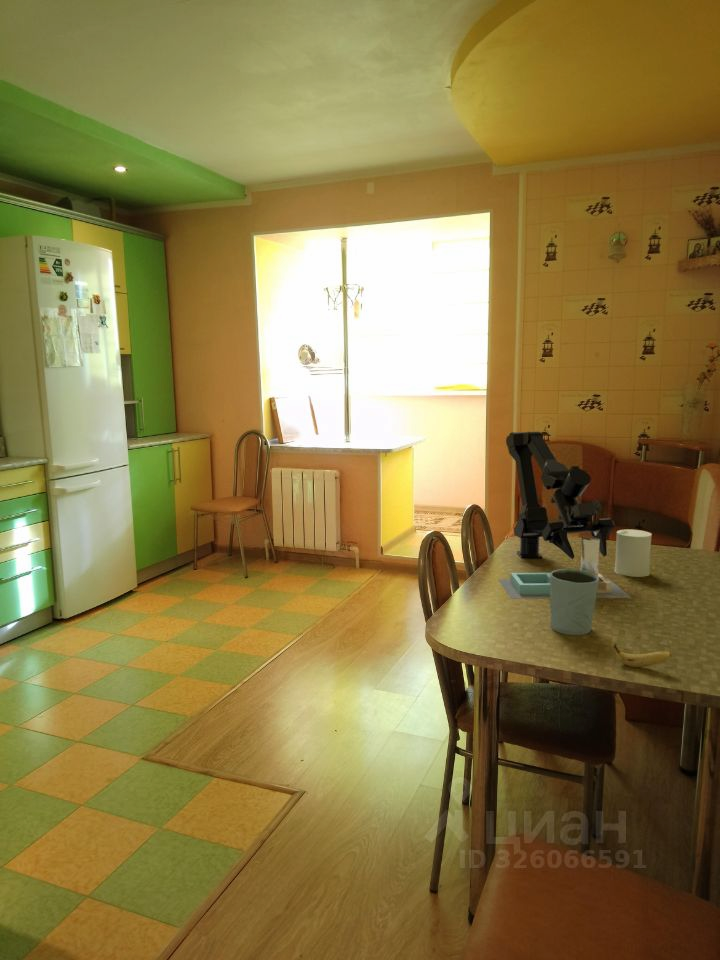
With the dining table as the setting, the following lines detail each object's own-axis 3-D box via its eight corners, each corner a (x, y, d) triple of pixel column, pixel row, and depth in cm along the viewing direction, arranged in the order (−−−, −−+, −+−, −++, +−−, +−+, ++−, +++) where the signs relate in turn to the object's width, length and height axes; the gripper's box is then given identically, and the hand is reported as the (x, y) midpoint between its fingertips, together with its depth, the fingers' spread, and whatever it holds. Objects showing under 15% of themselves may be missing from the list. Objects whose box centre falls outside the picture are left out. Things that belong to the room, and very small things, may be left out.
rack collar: (510, 582, 178) (510, 573, 177) (549, 581, 178) (549, 572, 177) (519, 594, 167) (520, 585, 167) (560, 594, 167) (561, 584, 167)
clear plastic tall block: (577, 584, 175) (579, 537, 173) (593, 584, 175) (596, 536, 173) (582, 590, 170) (585, 541, 168) (599, 590, 170) (602, 540, 168)
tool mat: (497, 580, 180) (497, 579, 180) (607, 579, 180) (607, 578, 180) (511, 599, 164) (511, 598, 164) (631, 598, 165) (631, 597, 164)
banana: (670, 670, 124) (671, 650, 124) (669, 675, 122) (671, 654, 122) (613, 660, 129) (614, 641, 128) (612, 665, 127) (613, 645, 126)
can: (610, 567, 191) (612, 527, 189) (643, 568, 190) (645, 527, 189) (619, 577, 182) (621, 534, 180) (654, 578, 181) (657, 535, 180)
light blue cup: (545, 618, 152) (547, 567, 150) (592, 621, 150) (594, 569, 148) (550, 635, 142) (552, 581, 140) (600, 638, 140) (602, 583, 138)
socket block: (567, 582, 177) (567, 573, 176) (598, 582, 177) (599, 573, 176) (577, 592, 168) (578, 583, 168) (610, 592, 168) (611, 583, 168)
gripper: (548, 491, 172) (568, 542, 163) (612, 488, 176) (636, 538, 167) (533, 515, 181) (552, 565, 172) (595, 512, 185) (616, 560, 176)
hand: (589, 556), depth 172 cm, fingers open, 9 cm apart
